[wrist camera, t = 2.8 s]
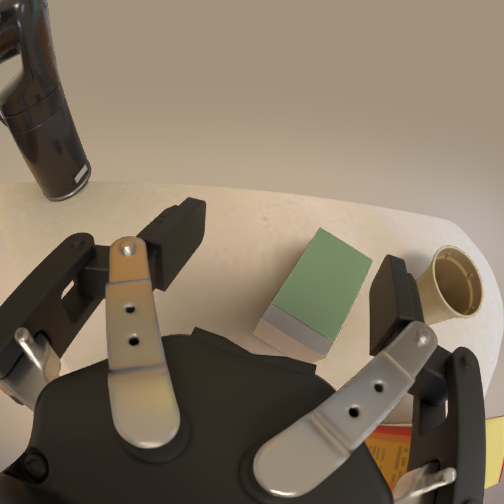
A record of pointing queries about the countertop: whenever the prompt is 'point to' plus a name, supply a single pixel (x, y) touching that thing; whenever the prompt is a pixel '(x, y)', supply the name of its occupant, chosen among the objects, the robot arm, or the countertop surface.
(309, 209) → the countertop surface
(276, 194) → the countertop surface
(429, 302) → the flower pot
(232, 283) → the countertop surface
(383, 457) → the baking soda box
